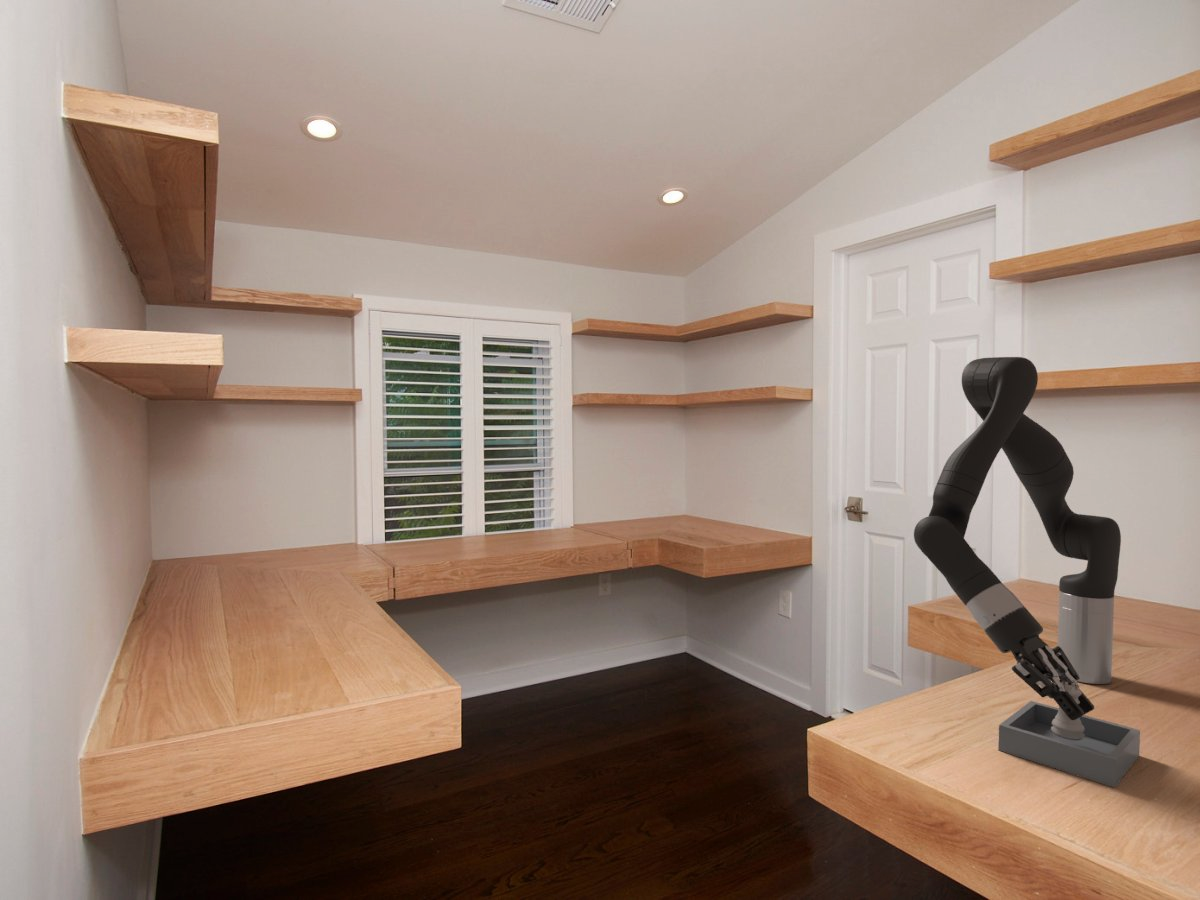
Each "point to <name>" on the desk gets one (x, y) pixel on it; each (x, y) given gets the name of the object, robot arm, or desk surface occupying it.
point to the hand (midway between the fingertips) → (1083, 714)
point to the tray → (1071, 744)
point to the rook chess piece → (1063, 723)
